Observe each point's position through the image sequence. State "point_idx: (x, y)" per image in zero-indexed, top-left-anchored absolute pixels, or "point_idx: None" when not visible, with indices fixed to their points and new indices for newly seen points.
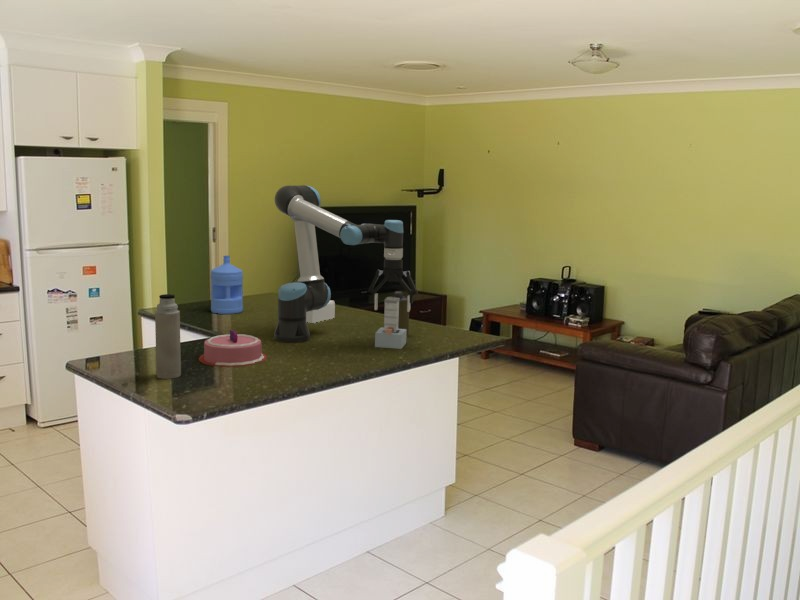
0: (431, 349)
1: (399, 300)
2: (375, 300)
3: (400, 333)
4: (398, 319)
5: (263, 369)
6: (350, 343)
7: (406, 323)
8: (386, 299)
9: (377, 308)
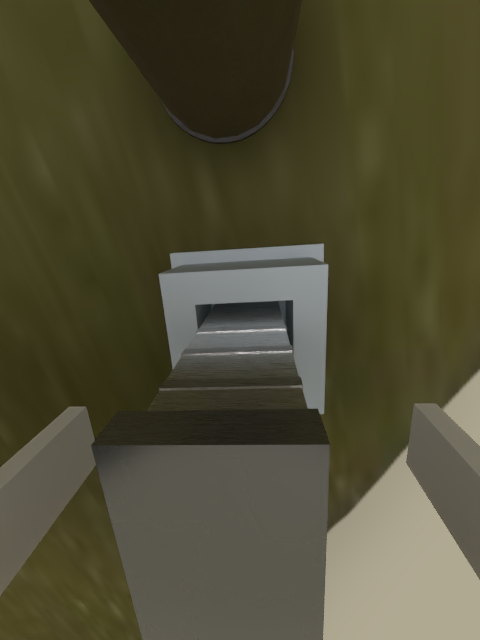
0: (440, 297)
1: (318, 416)
2: (15, 560)
3: (310, 389)
4: (287, 339)
5: (25, 621)
6: (70, 311)
7: (293, 30)
8: (159, 619)
9: (83, 416)
